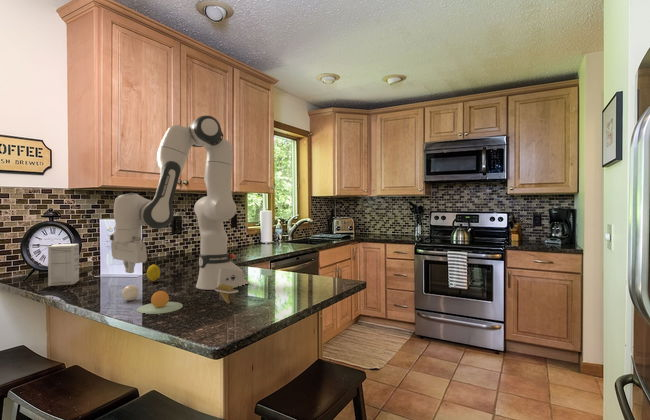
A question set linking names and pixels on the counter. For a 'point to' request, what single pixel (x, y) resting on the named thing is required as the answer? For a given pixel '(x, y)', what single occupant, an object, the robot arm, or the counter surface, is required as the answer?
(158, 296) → the object ball
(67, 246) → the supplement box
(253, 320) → the counter surface
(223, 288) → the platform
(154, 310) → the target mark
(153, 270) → the lemon
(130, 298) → the cue ball
